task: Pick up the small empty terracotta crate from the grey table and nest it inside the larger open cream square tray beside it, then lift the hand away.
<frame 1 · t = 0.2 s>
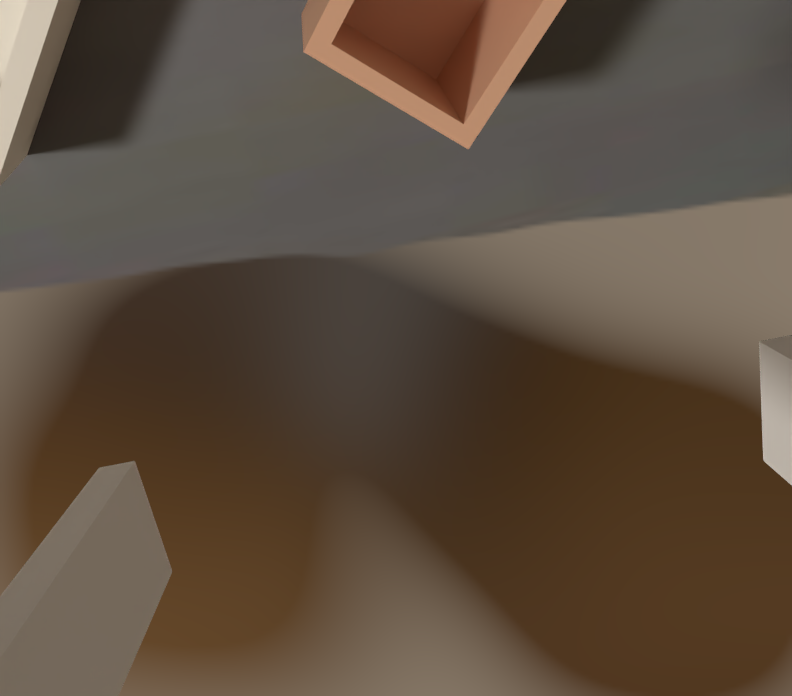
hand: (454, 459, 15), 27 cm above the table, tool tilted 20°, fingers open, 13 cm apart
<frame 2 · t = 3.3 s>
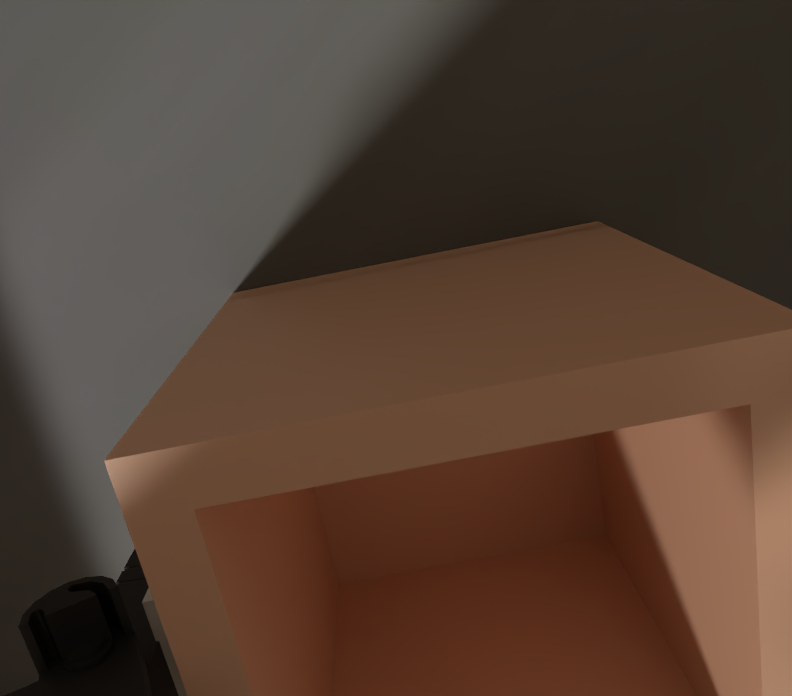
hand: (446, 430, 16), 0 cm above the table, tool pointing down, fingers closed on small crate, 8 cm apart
small crate: (445, 424, 17), on the table, touching gripper
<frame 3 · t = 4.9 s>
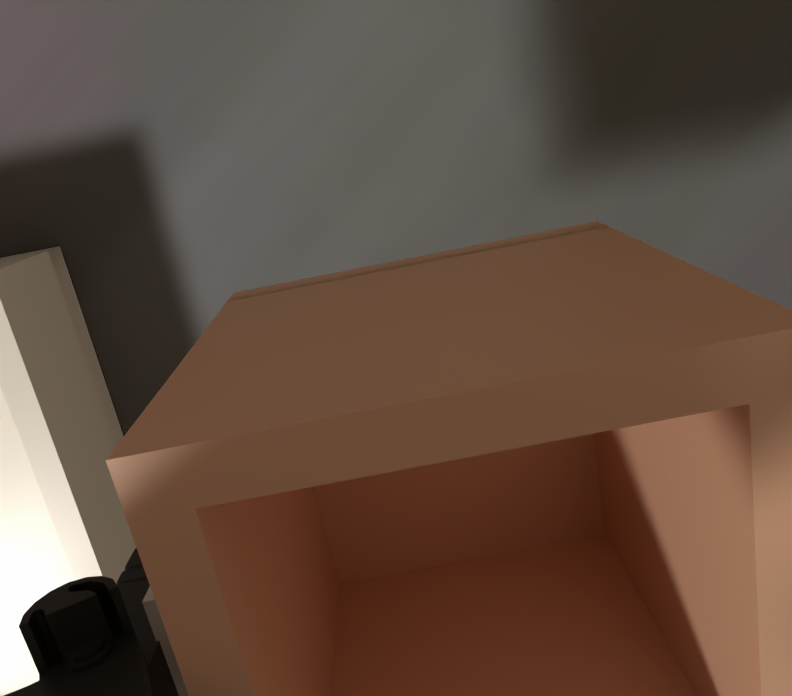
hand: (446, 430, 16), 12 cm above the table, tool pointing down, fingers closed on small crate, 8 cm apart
small crate: (445, 423, 17), point 12 cm above the table, touching gripper
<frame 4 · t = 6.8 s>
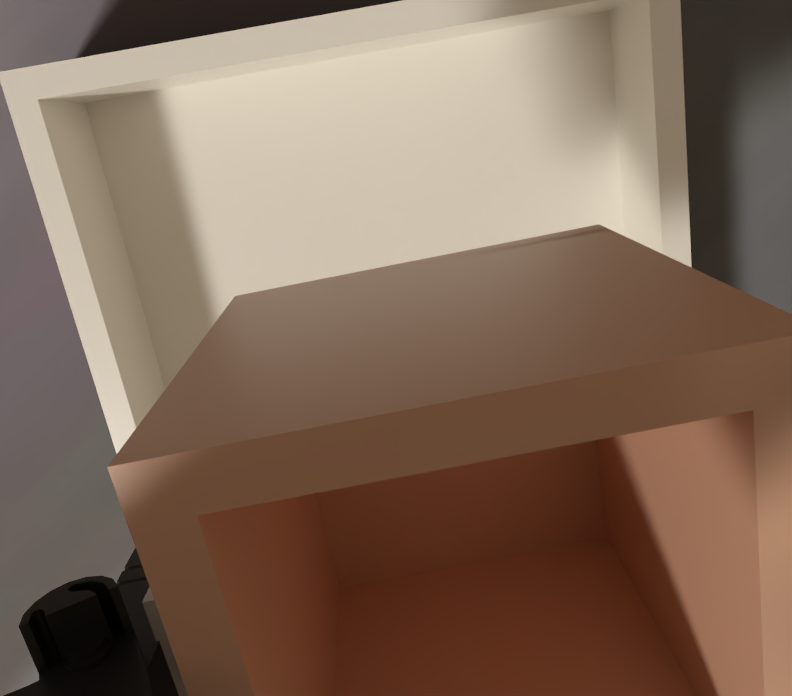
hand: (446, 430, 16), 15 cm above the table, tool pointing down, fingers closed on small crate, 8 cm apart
cream square tray: (388, 305, 31), on the table
small crate: (446, 426, 17), point 15 cm above the table, touching gripper
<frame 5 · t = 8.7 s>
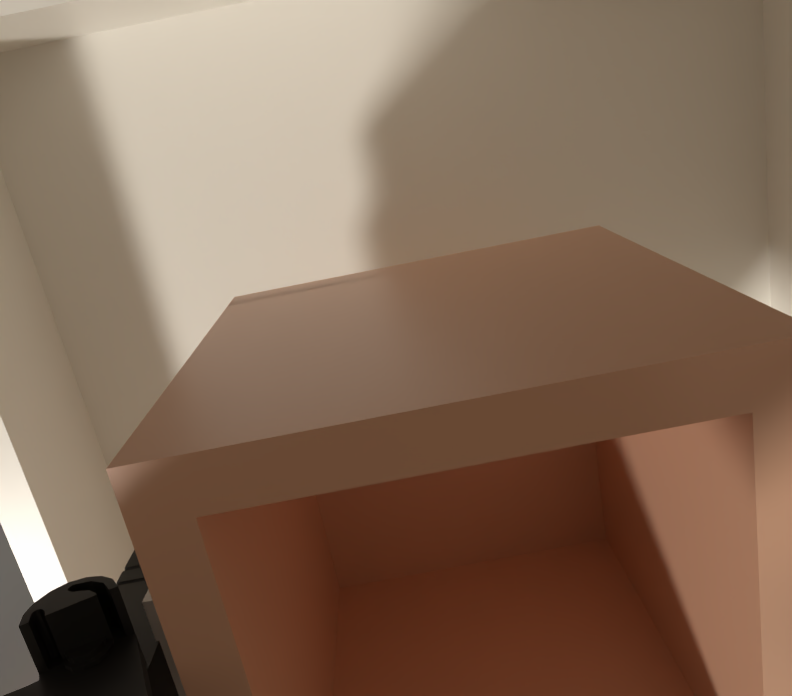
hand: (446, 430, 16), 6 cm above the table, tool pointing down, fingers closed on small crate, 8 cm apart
cream square tray: (424, 345, 22), on the table
small crate: (446, 427, 17), point 5 cm above the table, touching gripper
when the fingers open (3 cm above the table, at t = 10.2 s): small crate drops 1 cm, resting on cream square tray.
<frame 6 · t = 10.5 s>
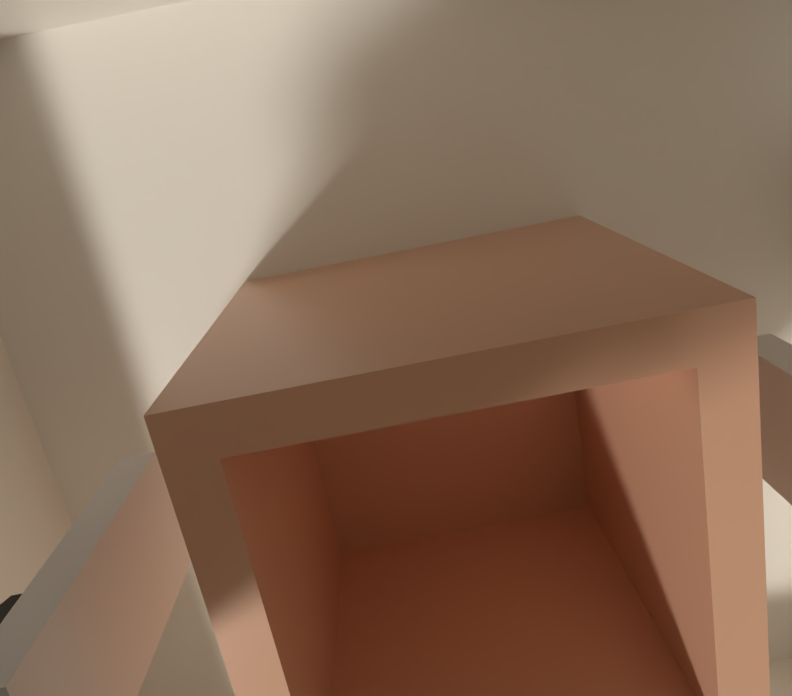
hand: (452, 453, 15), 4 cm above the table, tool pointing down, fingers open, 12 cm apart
cream square tray: (436, 387, 19), on the table
small crate: (440, 403, 18), point 1 cm above the table, touching cream square tray
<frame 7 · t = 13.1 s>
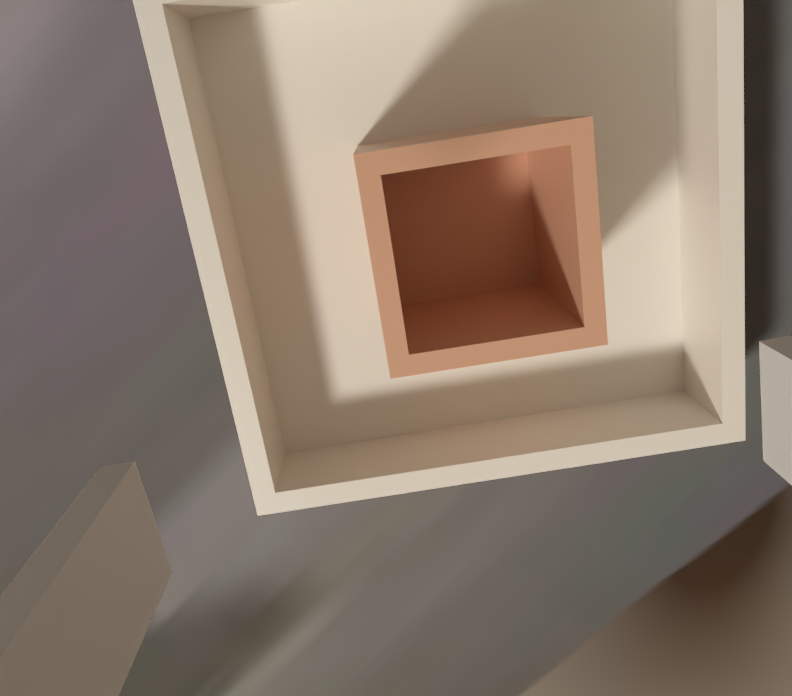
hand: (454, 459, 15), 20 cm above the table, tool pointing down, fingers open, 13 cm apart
cream square tray: (456, 218, 33), on the table
small crate: (459, 222, 33), point 1 cm above the table, touching cream square tray
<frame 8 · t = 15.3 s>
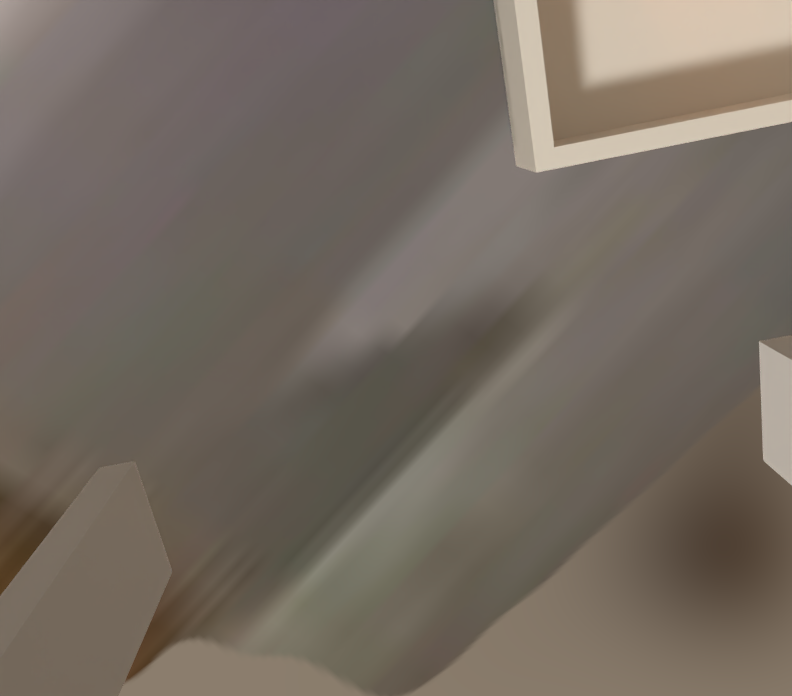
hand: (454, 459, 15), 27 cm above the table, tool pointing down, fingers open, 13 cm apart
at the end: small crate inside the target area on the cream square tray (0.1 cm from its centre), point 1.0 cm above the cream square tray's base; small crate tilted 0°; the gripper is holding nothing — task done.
